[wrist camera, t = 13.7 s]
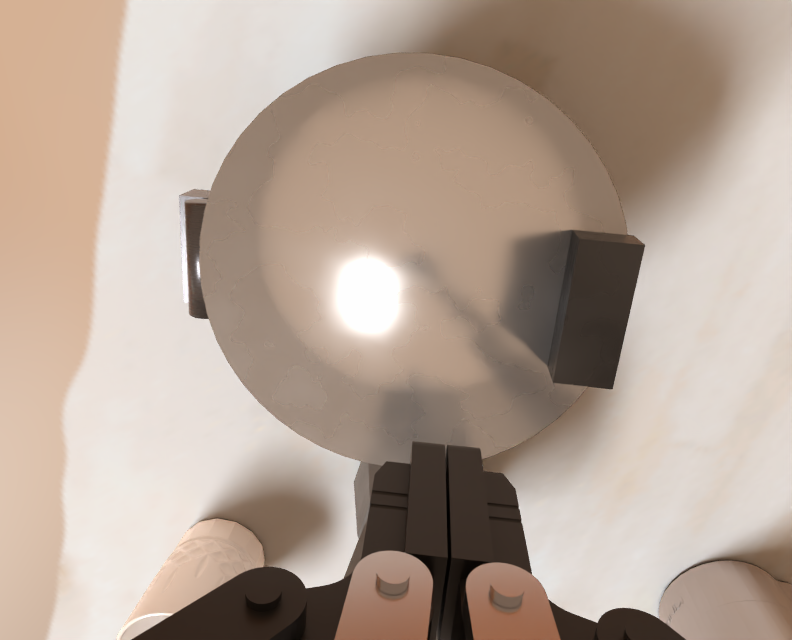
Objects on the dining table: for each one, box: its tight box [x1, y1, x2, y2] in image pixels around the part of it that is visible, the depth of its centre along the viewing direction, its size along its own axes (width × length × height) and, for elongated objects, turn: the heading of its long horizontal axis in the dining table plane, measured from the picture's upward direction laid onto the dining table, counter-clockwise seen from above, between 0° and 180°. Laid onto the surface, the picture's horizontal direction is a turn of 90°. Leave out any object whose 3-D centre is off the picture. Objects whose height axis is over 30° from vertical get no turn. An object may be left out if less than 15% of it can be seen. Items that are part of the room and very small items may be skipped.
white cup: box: [116, 518, 265, 640], centre depth 45 cm, size 8×8×10 cm
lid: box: [184, 53, 645, 466], centre depth 26 cm, size 19×18×3 cm
